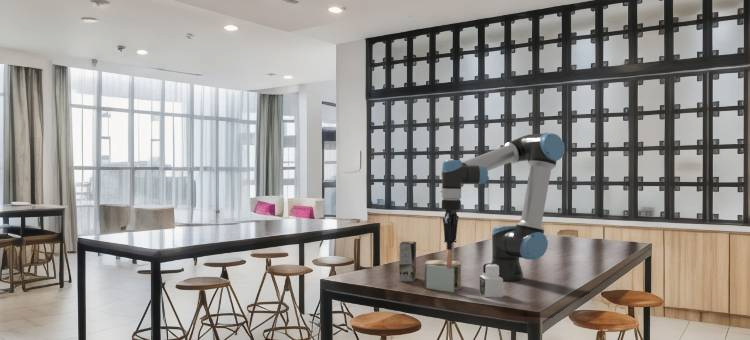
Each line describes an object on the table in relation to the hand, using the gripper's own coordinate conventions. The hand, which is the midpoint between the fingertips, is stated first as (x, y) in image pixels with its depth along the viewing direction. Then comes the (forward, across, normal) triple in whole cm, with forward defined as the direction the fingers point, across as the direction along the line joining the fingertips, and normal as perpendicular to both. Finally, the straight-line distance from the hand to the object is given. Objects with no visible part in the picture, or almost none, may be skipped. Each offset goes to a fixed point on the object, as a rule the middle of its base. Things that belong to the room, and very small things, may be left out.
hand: (450, 259), depth 222 cm
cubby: (+13, -7, -5) cm, 15 cm away
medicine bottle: (+13, 0, +17) cm, 21 cm away
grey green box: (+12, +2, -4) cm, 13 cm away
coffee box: (+14, -14, -24) cm, 31 cm away
